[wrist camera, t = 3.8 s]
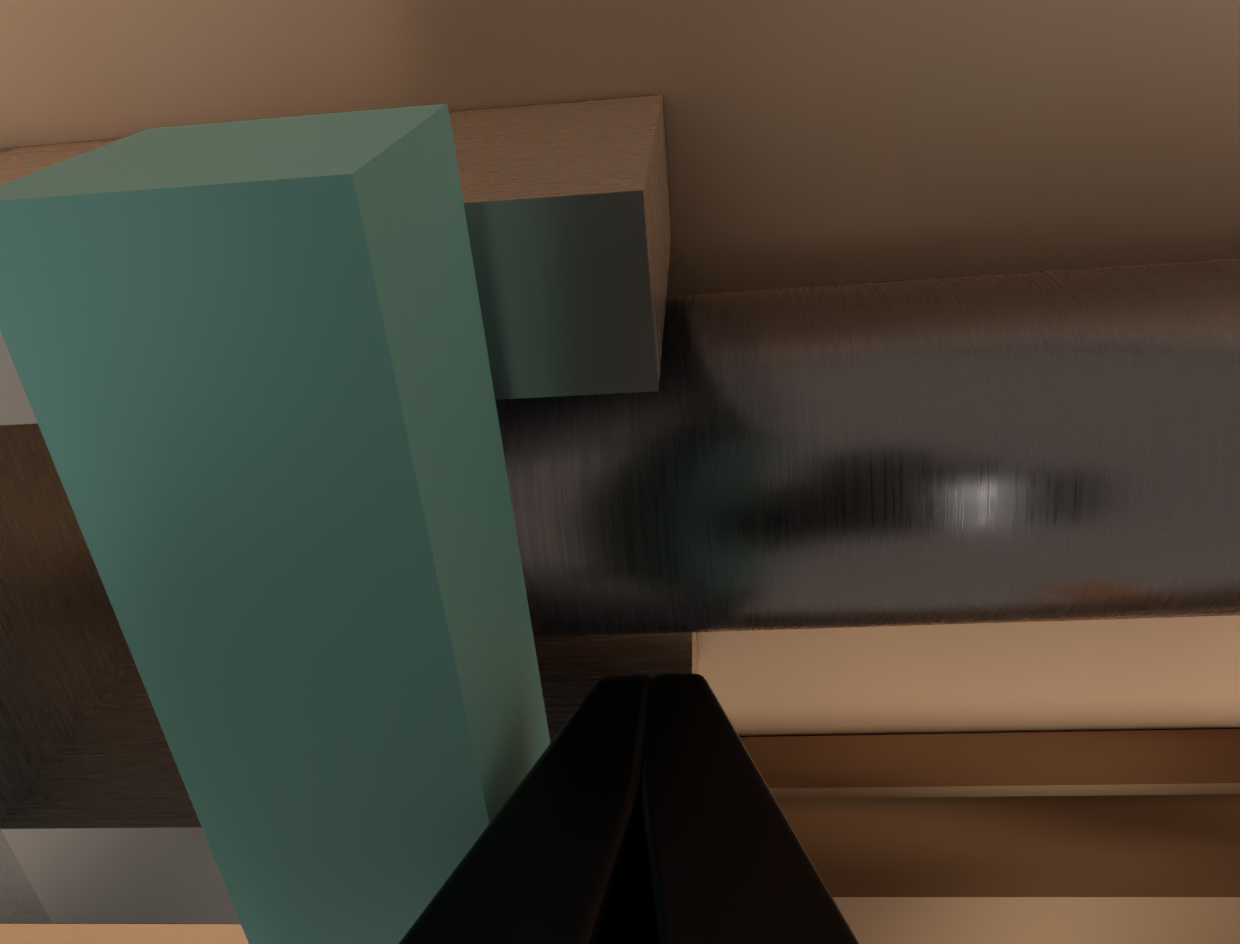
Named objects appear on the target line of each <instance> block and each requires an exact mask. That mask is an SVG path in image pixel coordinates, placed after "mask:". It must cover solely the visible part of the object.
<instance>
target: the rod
mask: <svg viewBox="0 0 1240 944" xmlns="http://www.w3.org/2000/svg"><path fill="white" fill-rule="evenodd" d="M495 401H496V408H497V414H498V420H499V426H500V432H501V439H502V445H503V451H504V457H505V463H506V470H507V476H508V482H509V488H510V494H511V501H512V507H513V513H514V519H515V525H516V532H517V538H518V544H519V550H520V556H521V563H522V569H523V575H524V581H525V587H526V594H527V600H528V606H529V612H530V618H531V625H532V631H533V637H551V636H584V635H616V634H648V633H680V632H712V631H744V630H777V629H809V628H841V627H873V626H905V625H937V624H970V623H1002V622H1034V621H1066V620H1098V619H1130V618H1163V617H1195V616H1227V615H1240V258H1234V259H1219V260H1204V261H1189V262H1174V263H1159V264H1144V265H1128V266H1113V267H1098V268H1083V269H1068V270H1053V271H1038V272H1023V273H1008V274H993V275H978V276H963V277H948V278H932V279H917V280H902V281H887V282H872V283H857V284H842V285H827V286H812V287H797V288H782V289H766V290H751V291H736V292H721V293H706V294H691V295H676V296H666V305H665V317H664V329H663V341H662V352H661V364H660V376H659V388H658V391H654V392H634V393H615V394H596V395H577V396H557V397H538V398H519V399H499V400H495Z"/></svg>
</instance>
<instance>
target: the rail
mask: <svg viewBox="0 0 1240 944" xmlns="http://www.w3.org/2000/svg"><path fill="white" fill-rule="evenodd" d="M739 738H740V739H741V741H742V743H743V744H744V746H745V748H746V750H747V751H748V753H749V755H750V756H751V758H752V760H753V762H754V763H755V765H756V767H757V769H758V770H759V772H760V774H761V775H762V777H763V779H764V781H765V782H766V784H767V786H768V787H769V789H770V791H771V793H772V794H773V796H774V798H775V799H776V801H777V803H778V805H779V806H780V808H781V810H782V811H783V813H784V815H785V817H786V818H787V820H788V822H789V824H790V825H791V827H792V829H793V830H794V832H795V834H796V836H797V837H798V839H799V841H800V842H801V844H802V846H803V848H804V849H805V851H806V853H807V854H808V856H809V858H810V860H811V861H812V863H813V865H814V866H815V868H816V870H817V872H818V873H819V875H820V877H821V879H822V880H823V882H824V884H825V885H826V887H827V889H828V891H829V892H830V894H831V896H832V897H833V899H834V901H835V903H836V904H837V906H838V908H839V909H840V911H841V913H842V915H843V916H844V918H845V920H846V921H847V923H848V925H849V927H850V928H851V930H852V932H853V934H854V935H855V937H856V939H857V940H858V942H859V944H1240V729H1203V730H1143V731H1082V732H1022V733H962V734H901V735H841V736H780V737H739Z"/></svg>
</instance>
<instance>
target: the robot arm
mask: <svg viewBox="0 0 1240 944" xmlns="http://www.w3.org/2000/svg"><path fill="white" fill-rule="evenodd" d="M399 944H859V942H858V940H857V939H856V937H855V935H854V934H853V932H852V930H851V928H850V927H849V925H848V923H847V921H846V920H845V918H844V916H843V915H842V913H841V911H840V909H839V908H838V906H837V904H836V903H835V901H834V899H833V897H832V896H831V894H830V892H829V891H828V889H827V887H826V885H825V884H824V882H823V880H822V879H821V877H820V875H819V873H818V872H817V870H816V868H815V866H814V865H813V863H812V861H811V860H810V858H809V856H808V854H807V853H806V851H805V849H804V848H803V846H802V844H801V842H800V841H799V839H798V837H797V836H796V834H795V832H794V830H793V829H792V827H791V825H790V824H789V822H788V820H787V818H786V817H785V815H784V813H783V811H782V810H781V808H780V806H779V805H778V803H777V801H776V799H775V798H774V796H773V794H772V793H771V791H770V789H769V787H768V786H767V784H766V782H765V781H764V779H763V777H762V775H761V774H760V772H759V770H758V769H757V767H756V765H755V763H754V762H753V760H752V758H751V756H750V755H749V753H748V751H747V750H746V748H745V746H744V744H743V743H742V741H741V739H740V738H739V736H738V734H737V732H736V731H735V729H734V727H733V726H732V724H731V722H730V720H729V719H728V717H727V715H726V714H725V712H724V710H723V708H722V707H721V705H720V703H719V701H718V700H717V698H716V696H715V695H714V693H713V691H712V689H711V688H710V686H709V684H708V683H707V681H706V680H705V679H704V677H703V676H701V675H699V674H658V675H655V676H653V677H652V678H651V677H650V676H648V675H607V676H604V677H602V678H601V679H599V680H598V681H597V682H596V684H595V685H594V686H593V688H592V689H591V690H590V692H589V693H588V694H587V696H586V697H585V698H584V700H583V701H582V702H581V703H580V705H579V706H578V707H577V709H576V710H575V711H574V713H573V714H572V715H571V717H570V718H569V719H568V721H567V722H566V723H565V725H564V726H563V727H562V729H561V730H560V731H559V733H558V734H557V735H556V736H555V738H554V739H553V740H552V742H551V743H550V744H549V746H548V747H547V748H546V750H545V751H544V752H543V754H542V755H541V756H540V758H539V759H538V760H537V762H536V763H535V764H534V766H533V767H532V768H531V769H530V771H529V772H528V773H527V775H526V776H525V777H524V779H523V780H522V781H521V783H520V784H519V785H518V787H517V788H516V789H515V791H514V792H513V793H512V795H511V796H510V797H509V799H508V800H507V801H506V802H505V804H504V805H503V806H502V808H501V809H500V810H499V812H498V813H497V814H496V816H495V817H494V818H493V820H492V821H491V822H490V824H489V825H488V826H487V828H486V829H485V830H484V832H483V833H482V834H481V835H480V837H479V838H478V839H477V841H476V842H475V843H474V845H473V846H472V847H471V849H470V850H469V851H468V853H467V854H466V855H465V857H464V858H463V859H462V861H461V862H460V863H459V865H458V866H457V867H456V868H455V870H454V871H453V872H452V874H451V875H450V876H449V878H448V879H447V880H446V882H445V883H444V884H443V886H442V887H441V888H440V890H439V891H438V892H437V894H436V895H435V896H434V898H433V899H432V900H431V901H430V903H429V904H428V905H427V907H426V908H425V909H424V911H423V912H422V913H421V915H420V916H419V917H418V919H417V920H416V921H415V923H414V924H413V925H412V927H411V928H410V929H409V931H408V932H407V933H406V934H405V936H404V937H403V938H402V940H401V941H400V942H399Z"/></svg>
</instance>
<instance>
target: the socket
mask: <svg viewBox="0 0 1240 944" xmlns="http://www.w3.org/2000/svg"><path fill="white" fill-rule="evenodd" d="M449 116H450V122H451V128H452V135H453V141H454V147H455V153H456V159H457V166H458V172H459V178H460V184H461V190H462V197H463V203H464V209H465V215H466V221H467V228H468V234H469V240H470V246H471V252H472V259H473V265H474V271H475V277H476V283H477V290H478V296H479V302H480V308H481V315H482V321H483V327H484V333H485V339H486V346H487V352H488V358H489V364H490V370H491V377H492V383H493V389H494V395H495V400H499V399H519V398H538V397H557V396H577V395H596V394H615V393H634V392H654V391H658V388H659V376H660V364H661V352H662V341H663V329H664V317H665V305H666V293H667V281H668V269H669V257H670V245H671V224H670V208H669V193H668V177H667V161H666V145H665V130H664V114H663V98H662V95H655V96H642V97H630V98H618V99H606V100H594V101H581V102H569V103H557V104H545V105H533V106H520V107H508V108H496V109H484V110H471V111H459V112H449ZM118 140H119V139H118ZM114 141H116V140H105V141H93V142H81V143H69V144H56V145H44V146H32V147H20V148H8V149H0V185H1V184H4V183H7V182H9V181H12V180H14V179H17V178H20V177H22V176H25V175H27V174H30V173H33V172H35V171H38V170H41V169H43V168H46V167H48V166H51V165H54V164H56V163H59V162H61V161H64V160H67V159H69V158H72V157H74V156H77V155H80V154H82V153H85V152H88V151H90V150H93V149H95V148H98V147H101V146H103V145H106V144H108V143H111V142H114ZM534 643H535V650H536V656H537V662H538V668H539V674H540V681H541V687H542V693H543V699H544V705H545V712H546V718H547V724H548V730H549V736H550V743H551V742H552V740H553V739H554V738H555V736H556V735H557V734H558V733H559V731H560V730H561V729H562V727H563V726H564V725H565V723H566V722H567V721H568V719H569V718H570V717H571V715H572V714H573V713H574V711H575V710H576V709H577V707H578V706H579V705H580V703H581V702H582V701H583V700H584V698H585V697H586V696H587V694H588V693H589V692H590V690H591V689H592V688H593V686H594V685H595V684H596V682H597V681H598V680H599V679H601V678H602V677H604V676H607V675H648V676H650V677H651V678H652V677H653V676H655V675H658V674H698V649H697V634H696V632H680V633H648V634H616V635H584V636H551V637H534ZM0 924H241V923H240V920H239V918H238V915H237V913H236V910H235V908H234V905H233V903H232V901H231V898H230V896H229V893H228V891H227V888H226V886H225V883H224V881H223V878H222V876H221V873H220V871H219V869H218V866H217V864H216V861H215V859H214V856H213V854H212V851H211V849H210V846H209V844H208V841H207V839H206V836H205V834H204V832H203V829H202V827H201V824H200V822H199V819H198V817H197V814H196V812H195V809H194V807H193V804H192V802H191V800H190V797H189V795H188V792H187V790H186V787H185V785H184V782H183V780H182V777H181V775H180V772H179V770H178V768H177V765H176V763H175V760H174V758H173V755H172V753H171V750H170V748H169V745H168V743H167V740H166V738H165V736H164V733H163V731H162V728H161V726H160V723H159V721H158V718H157V716H156V713H155V711H154V708H153V706H152V703H151V701H150V699H149V696H148V694H147V691H146V689H145V686H144V684H143V681H142V679H141V676H140V674H139V671H138V669H137V667H136V664H135V662H134V659H133V657H132V654H131V652H130V649H129V647H128V644H127V642H126V639H125V637H124V635H123V632H122V630H121V627H120V625H119V622H118V620H117V617H116V615H115V612H114V610H113V607H112V605H111V603H110V600H109V598H108V595H107V593H106V590H105V588H104V585H103V583H102V580H101V578H100V575H99V573H98V570H97V568H96V566H95V563H94V561H93V558H92V556H91V553H90V551H89V548H88V546H87V543H86V541H85V538H84V536H83V534H82V531H81V529H80V526H79V524H78V521H77V519H76V516H75V514H74V511H73V509H72V506H71V504H70V502H69V499H68V497H67V494H66V492H65V489H64V487H63V484H62V482H61V479H60V477H59V474H58V472H57V470H56V467H55V465H54V462H53V460H52V457H51V455H50V452H49V450H48V447H47V445H46V442H45V440H44V437H43V435H42V433H41V430H40V428H39V425H38V423H37V420H36V418H35V415H34V413H33V410H32V408H31V405H30V403H29V401H28V398H27V396H26V393H25V391H24V388H23V386H22V383H21V381H20V378H19V376H18V373H17V371H16V369H15V366H14V364H13V361H12V359H11V356H10V354H9V351H8V349H7V346H6V344H5V341H4V339H3V336H2V334H1V332H0Z"/></svg>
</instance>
